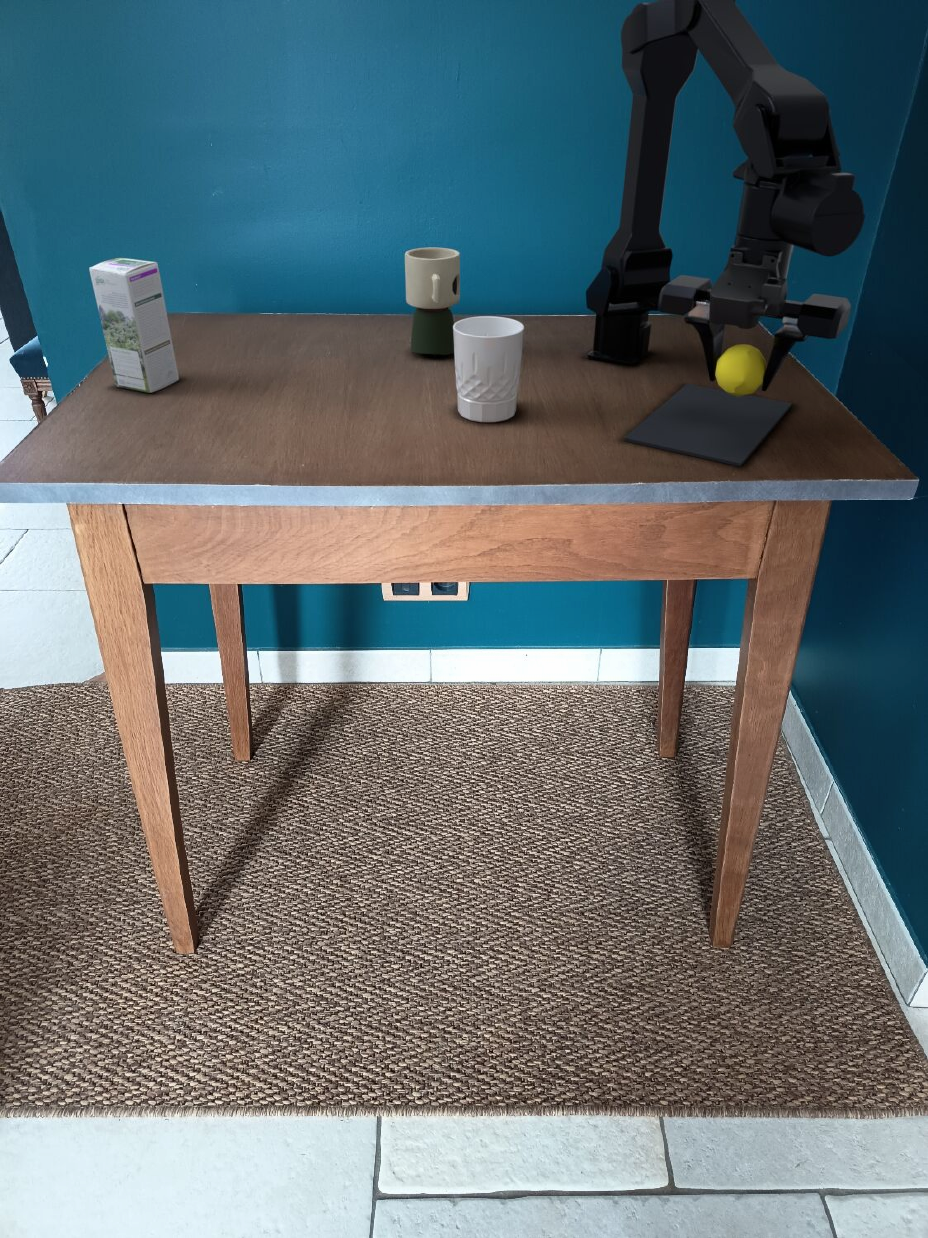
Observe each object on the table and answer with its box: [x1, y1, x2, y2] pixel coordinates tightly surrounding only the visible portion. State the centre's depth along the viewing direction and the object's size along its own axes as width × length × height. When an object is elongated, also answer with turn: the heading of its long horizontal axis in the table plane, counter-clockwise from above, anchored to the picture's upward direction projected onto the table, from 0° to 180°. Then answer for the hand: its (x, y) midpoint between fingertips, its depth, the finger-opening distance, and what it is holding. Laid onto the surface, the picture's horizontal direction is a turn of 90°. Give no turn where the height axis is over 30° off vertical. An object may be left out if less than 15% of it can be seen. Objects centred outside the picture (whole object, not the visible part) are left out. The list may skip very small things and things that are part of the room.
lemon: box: [715, 343, 767, 397], centre depth 100 cm, size 7×5×5 cm
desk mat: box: [623, 383, 793, 467], centre depth 105 cm, size 13×20×1 cm, turn 149°
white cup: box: [453, 315, 525, 423], centre depth 105 cm, size 8×8×10 cm
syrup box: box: [88, 257, 180, 394], centre depth 111 cm, size 6×6×14 cm
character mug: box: [404, 246, 461, 357], centre depth 122 cm, size 11×7×13 cm, turn 8°
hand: (738, 385), depth 101 cm, fingers closed on lemon, 5 cm apart
